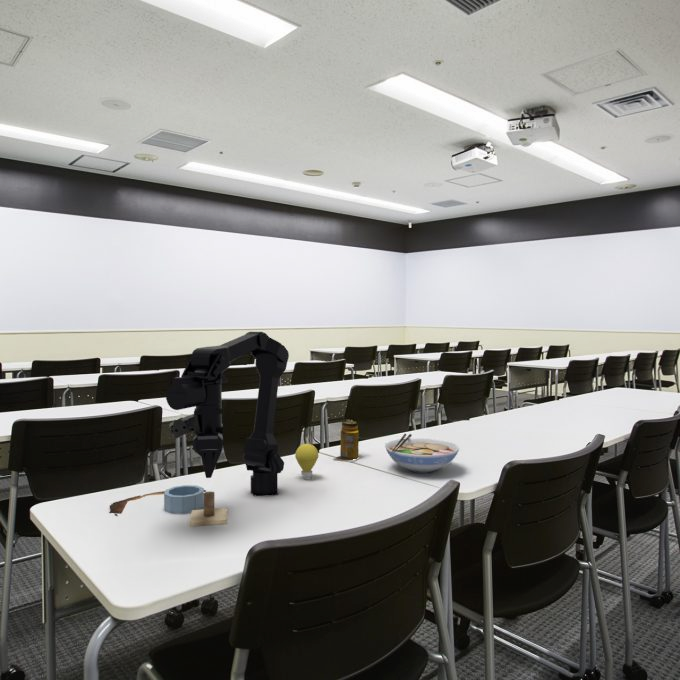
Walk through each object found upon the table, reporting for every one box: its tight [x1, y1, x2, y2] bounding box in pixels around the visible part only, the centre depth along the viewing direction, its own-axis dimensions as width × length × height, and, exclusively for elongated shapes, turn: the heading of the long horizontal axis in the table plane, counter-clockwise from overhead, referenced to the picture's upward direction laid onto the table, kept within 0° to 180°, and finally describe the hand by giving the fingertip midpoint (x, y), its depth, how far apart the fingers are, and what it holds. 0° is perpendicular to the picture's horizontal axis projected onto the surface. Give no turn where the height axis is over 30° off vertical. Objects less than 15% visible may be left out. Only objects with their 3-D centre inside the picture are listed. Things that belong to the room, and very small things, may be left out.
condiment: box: [333, 420, 363, 463], centre depth 180 cm, size 7×8×12 cm
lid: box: [189, 491, 228, 527], centre depth 123 cm, size 8×8×6 cm
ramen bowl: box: [384, 433, 460, 474], centre depth 167 cm, size 25×23×8 cm
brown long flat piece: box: [108, 489, 207, 517], centre depth 137 cm, size 25×10×1 cm, turn 130°
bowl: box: [163, 484, 205, 515], centre depth 131 cm, size 9×9×4 cm
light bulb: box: [294, 443, 319, 480], centre depth 157 cm, size 7×7×10 cm
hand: (209, 472), depth 123 cm, fingers open, 9 cm apart
